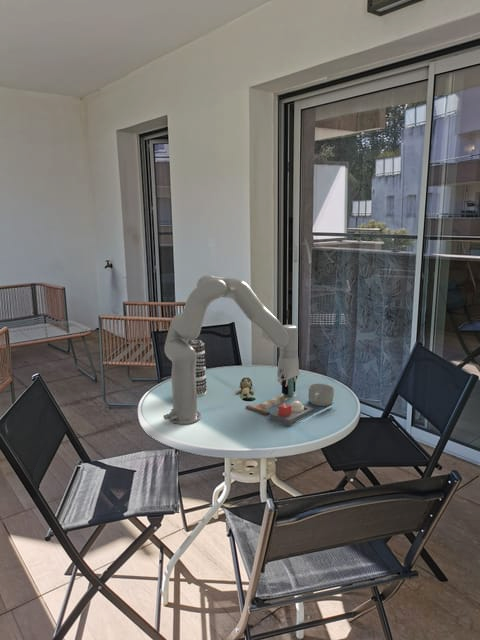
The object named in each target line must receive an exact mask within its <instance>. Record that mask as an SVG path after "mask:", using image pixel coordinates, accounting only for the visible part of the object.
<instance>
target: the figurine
mask: <svg viewBox="0 0 480 640" xmlns="http://www.w3.org/2000/svg"><path fill="white" fill-rule="evenodd" d="M239 388H240V389H239V390H237V391H236V395H238V394H240V399H243V398H244V396H246V399H250V393H251V394H252V395H254V394H255V392H254V390H252V388H254V386H253V381H252V379H251V378H249V377H243V378H242V379H241V380H240V382H239Z"/></svg>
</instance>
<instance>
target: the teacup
mask: <svg viewBox="0 0 480 640" xmlns="http://www.w3.org/2000/svg"><path fill="white" fill-rule="evenodd" d="M334 396H335V388H334V386H332V385H329V384H326V383H311V384H309V385H308V401H309V402H310V404H312V405H315V406H316V407H317V406H318V407H327V406H330V405H331V404H332V403H333V400H334Z"/></svg>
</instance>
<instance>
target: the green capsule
mask: <svg viewBox="0 0 480 640" xmlns="http://www.w3.org/2000/svg"><path fill="white" fill-rule="evenodd" d="M284 382H285V380H284ZM287 386H288V395H286V394H284V396H285V397H284V398H286V397H292V396H294V393H295V392H294V385H293V378H291V379H288V385H287ZM294 397H295V396H294ZM292 398H293V397H292Z"/></svg>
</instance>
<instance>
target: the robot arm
mask: <svg viewBox="0 0 480 640" xmlns="http://www.w3.org/2000/svg"><path fill="white" fill-rule="evenodd" d="M221 298H224V299H226V298H228V299H232V300H233V302H235V304H236V306H238V308H239V309H240V310H241V312H242V313H243V314H244V315H245V317H246V318H247V319H248V320H249V321H250V322H251V323H253V324H255V325H256V326H258V327H259V328H260V329H261V330H262V331H261V338H262V339H263V341H264V342H266V343H267V344H270V345H273V346H274V347H276V348H279V350H280V351H279V353H280V355H279V358H278V363H277V382H278V383H279V384H280V385H281V395H283V394H286V395H288V386H287V385H288V379H291V378H293V385H294V393H295V392H296V384H297V379H298V377H299V375H300V374H301V373H300V367H299V366H300V363H299V362H300V361H299V356H298V343H299V342H298V337H299V336H298V335H299V333H298V332H299V331H298V327H297V326H296V325H294V324H282V323H281V322H280V321H279V319H278V318H277V317H276V316H274V314H273V313H272V312H271V311H270V310H269V309H268V308H267V307H266V306H265V305H264V304H263V303H262V301H261V300H260V299H259V298H258V296H257V295H256V293H255V291H253V289H252V288H251V287H250V285H249V284H248V282H246V281H244V280H242V279H238V278H231V277H222V276H214V275H203V276H201V277H200V278H199V279H198V280H197V282H196V287H195V288H194V289H193V290H192V291H191V292H190V293H189V295H188V297H187V299H186V302H185V305H184V308H183V310H182V312H179V313H177V314H176V315H175V316H174V317H172V320H171V322H170V324H169V327H168V331H167V335H166V338H165V343H164V346H163V347H164V354H165V356H166V357H167V358H168V360H170V361H171V364H172V366H171V391H172V392H171V393H172V394H171V395H172V409H170V412H169V413H166V414H164V415H163V420H164V421H166V420H169V421H170V422H172V423H174V424H178V425H189V424H193V423H196V422H198V421H199V420H200V419H201V418H202V414H201V412H199V410H198V404H197V402H198V400H197V396H196V375H195V370H196V359H197V357H196V352H195V350H194V348H193V347H192V346H191V345H190V344H188V343H189V341H191V340H197V339H198V337H199V336H200V333H201V331H202V326H203V323H204V319H205V315H206V312H207V310H208V308H209V306H210V305H211V303H213V302H214V301H215V300H219V299H221ZM284 380H285V382H284Z"/></svg>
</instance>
